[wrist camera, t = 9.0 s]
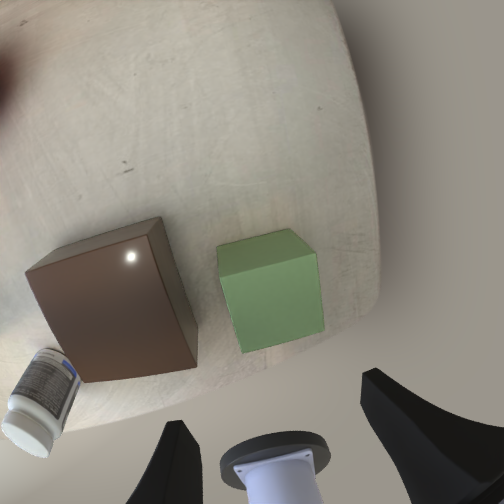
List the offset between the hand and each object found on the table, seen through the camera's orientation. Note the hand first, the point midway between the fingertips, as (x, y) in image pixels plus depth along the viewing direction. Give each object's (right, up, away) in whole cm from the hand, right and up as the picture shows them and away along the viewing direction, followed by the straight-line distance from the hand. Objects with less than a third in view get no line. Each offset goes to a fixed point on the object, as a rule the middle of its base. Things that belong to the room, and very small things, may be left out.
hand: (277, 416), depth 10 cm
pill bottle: (-17, -4, +9) cm, 20 cm away
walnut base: (-9, +4, +7) cm, 12 cm away
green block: (0, +5, +8) cm, 10 cm away
